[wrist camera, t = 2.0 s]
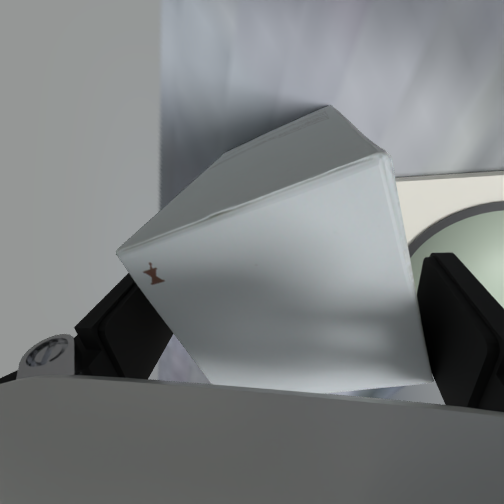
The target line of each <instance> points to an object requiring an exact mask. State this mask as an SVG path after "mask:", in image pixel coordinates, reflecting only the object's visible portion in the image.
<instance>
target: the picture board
mask: <svg viewBox="0 0 504 504" xmlns="http://www.w3.org/2000/svg"><path fill="white" fill-rule="evenodd" d="M395 180H396V186H397V191H398V196H399V202H400V207H401V212H402V218H403V223H404V228H405V234H406V239H407V244H408V250H409V255H410V261H411V266H412V272H413V277H414V283H415V289H416V294H417V290H418V285H419V280H420V275H421V270H422V264H423V260H424V258H425V257H429V256H430V254H431V253H445V252H452V253H454V254H455V255H456V256H457V257H458V258H459V259H460V261H461V262H462V263H463V264H464V265H465V266H466V267H467V268H468V269H469V271H470V272H471V273H472V274H473V275H474V276H475V277H476V278H477V279H478V281H479V282H480V283H481V284H482V285H483V286H484V287H485V288H486V289H487V291H488V292H489V293H490V294H491V295H492V296H493V297H494V298H495V299H496V301H497V302H498V303H499V304H500V305H501V306H502V307H503V308H504V171H491V172H476V173H460V174H445V175H430V176H415V177H399V178H395Z"/></svg>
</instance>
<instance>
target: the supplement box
mask: <svg viewBox="0 0 504 504" xmlns="http://www.w3.org/2000/svg"><path fill="white" fill-rule="evenodd" d="M116 255H117V256H118V258H119V259H120V260H121V262H122V263H123V265H124V266H125V268H126V269H127V271H128V272H129V274H130V275H131V277H132V278H133V280H134V281H135V282H136V284H137V285H138V287H139V288H140V289H141V291H142V292H143V293H144V295H145V296H146V298H147V299H148V300H149V302H150V303H151V304H152V306H153V307H154V308H155V310H156V311H157V312H158V314H159V315H160V316H161V317H162V319H163V320H164V321H165V323H166V324H167V325H168V327H169V328H170V329H171V331H172V332H173V334H174V335H175V336H176V337H177V339H178V340H179V341H180V343H181V344H182V345H183V347H184V348H185V349H186V351H187V352H188V353H189V355H190V356H191V357H192V359H193V360H194V361H195V363H196V364H197V365H198V367H199V368H200V369H201V371H202V372H203V373H204V375H205V376H206V377H207V378H208V380H209V382H210V383H211V384H213V385H226V386H238V387H250V388H262V389H275V390H287V391H299V392H310V393H322V394H326V393H336V392H345V391H355V390H364V389H374V388H383V387H394V386H405V385H415V384H426V383H432V382H433V381H434V380H433V377H432V372H431V368H430V363H429V358H428V352H427V347H426V342H425V337H424V332H423V327H422V322H421V316H420V311H419V305H418V300H417V294H416V289H415V283H414V277H413V272H412V266H411V261H410V255H409V250H408V244H407V239H406V234H405V228H404V223H403V218H402V212H401V207H400V202H399V196H398V191H397V186H396V180H395V175H394V169H393V163H392V159H391V156H390V155H389V154H388V153H387V152H386V151H385V150H383V149H382V148H380V147H379V146H377V145H376V144H374V143H373V142H372V141H371V140H369V139H368V138H367V137H366V136H364V135H363V134H362V133H361V132H360V131H359V130H358V129H357V128H356V127H355V126H354V125H353V124H352V123H351V122H350V121H349V120H348V119H347V118H345V117H344V116H343V115H342V114H341V113H340V112H339V111H338V110H336V109H335V108H334V107H333V106H331V105H330V106H327V107H324V108H322V109H320V110H317V111H315V112H313V113H310V114H308V115H306V116H303V117H301V118H299V119H297V120H294V121H292V122H290V123H288V124H286V125H283V126H281V127H279V128H277V129H274V130H272V131H270V132H268V133H266V134H264V135H261V136H259V137H257V138H255V139H253V140H251V141H249V142H247V143H244V144H242V145H240V146H238V147H236V148H234V149H232V150H230V151H228V152H225V153H224V154H223V155H222V156H221V157H220V158H219V159H217V160H216V161H215V162H214V163H213V164H212V165H211V166H210V167H209V168H208V169H206V170H205V171H204V172H203V173H202V174H201V175H200V176H199V177H197V178H196V179H195V180H194V181H193V182H192V183H191V184H190V185H188V186H187V187H186V188H185V189H184V190H183V191H182V192H181V193H180V194H178V195H177V196H176V197H175V198H174V199H173V200H172V201H171V202H169V203H168V204H167V205H166V206H165V207H164V208H163V209H162V210H161V211H159V212H158V213H157V214H156V215H155V216H154V217H153V218H152V219H150V220H149V222H147V223H146V224H145V225H144V226H143V227H142V228H140V229H139V230H138V231H137V232H136V233H135V234H134V235H133V236H132V237H131V238H129V239H128V240H127V241H126V242H125V243H124V244H123V245H122V246H121V247H119V248H118V249H117V251H116Z"/></svg>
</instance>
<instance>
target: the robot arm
mask: <svg viewBox="0 0 504 504" xmlns="http://www.w3.org/2000/svg"><path fill="white" fill-rule="evenodd" d="M417 300H418V305H419V311H420V316H421V322H422V327H423V332H424V337H425V342H426V347H427V352H428V358H429V363H430V368H431V372H432V375H433V377H434V379H435V381H436V383H437V386H438V388H439V390H440V393H441V395H442V397H443V400H444V402H445V404H446V405H440V404H430V403H420V402H410V401H401V400H390V399H379V398H368V397H356V396H345V395H333V394H322V393H310V392H299V391H287V390H275V389H262V388H250V387H238V386H226V385H213V384H201V383H188V382H175V381H161V380H148V378H149V376H150V374H151V372H152V371H153V369H154V367H155V365H156V364H157V362H158V360H159V358H160V356H161V355H162V353H163V351H164V349H165V348H166V346H167V344H168V342H169V340H170V339H171V337H172V335H173V332H172V331H171V329H170V328H169V327H168V325H167V324H166V323H165V321H164V320H163V319H162V317H161V316H160V315H159V314H158V312H157V311H156V310H155V308H154V307H153V306H152V304H151V303H150V302H149V300H148V299H147V298H146V296H145V295H144V293H143V292H142V291H141V289H140V288H139V287H138V285H137V284H136V282H135V281H134V280H133V278H132V277H131V275H130V274H129V273H128V274H127V275H126V276H125V277H124V278H123V279H122V280H121V281H120V282H119V283H118V284H117V285H116V286H115V287H114V288H113V289H112V290H111V291H110V292H109V293H108V294H107V295H106V296H105V297H104V298H103V299H102V300H101V301H100V302H99V303H98V304H97V305H96V306H95V307H94V308H93V309H92V310H91V311H90V312H89V313H88V314H87V315H86V316H85V317H84V318H83V319H82V320H81V321H80V322H79V323H78V324H77V325H76V326H75V330H76V332H77V334H78V335H77V336H76V337H75V338H73V337H72V336H71V335H67V334H60V335H55V336H52V337H49V338H47V339H45V340H42V341H41V342H39V343H37V344H36V345H34V346H33V347H32V348H31V349H29V350H28V351H27V352H26V353H25V354H24V356H23V357H22V359H21V361H20V363H19V368H18V370H17V371H15V372H13V373H11V374H9V375H6V376H4V377H2V378H0V504H504V308H503V307H502V306H501V305H500V304H499V303H498V302H497V301H496V299H495V298H494V297H493V296H492V295H491V294H490V293H489V292H488V291H487V289H486V288H485V287H484V286H483V285H482V284H481V283H480V282H479V281H478V279H477V278H476V277H475V276H474V275H473V274H472V273H471V272H470V271H469V269H468V268H467V267H466V266H465V265H464V264H463V263H462V262H461V261H460V259H459V258H458V257H457V256H456V255H455V254H454V253H452V252H445V253H431V254H430V256H429V257H425V258H424V260H423V264H422V270H421V275H420V280H419V285H418V290H417Z"/></svg>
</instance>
